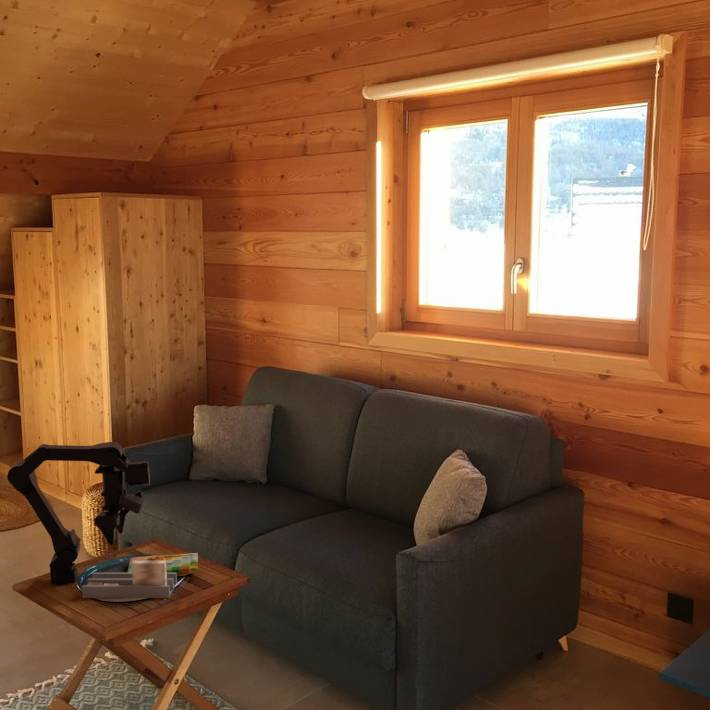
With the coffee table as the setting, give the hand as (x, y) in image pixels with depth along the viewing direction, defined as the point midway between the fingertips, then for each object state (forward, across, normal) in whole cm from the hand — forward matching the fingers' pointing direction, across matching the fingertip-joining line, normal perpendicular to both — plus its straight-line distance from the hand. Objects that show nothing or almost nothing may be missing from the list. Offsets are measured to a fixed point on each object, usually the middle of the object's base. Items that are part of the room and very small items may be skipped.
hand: (116, 538), depth 254 cm
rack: (+13, -9, -6) cm, 17 cm away
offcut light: (+12, -11, -1) cm, 16 cm away
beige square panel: (+12, -11, -12) cm, 20 cm away
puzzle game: (+14, +5, -12) cm, 19 cm away
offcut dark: (+12, -11, +4) cm, 16 cm away
